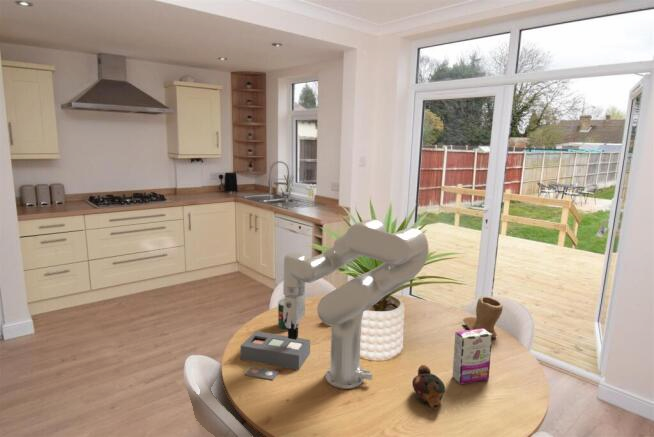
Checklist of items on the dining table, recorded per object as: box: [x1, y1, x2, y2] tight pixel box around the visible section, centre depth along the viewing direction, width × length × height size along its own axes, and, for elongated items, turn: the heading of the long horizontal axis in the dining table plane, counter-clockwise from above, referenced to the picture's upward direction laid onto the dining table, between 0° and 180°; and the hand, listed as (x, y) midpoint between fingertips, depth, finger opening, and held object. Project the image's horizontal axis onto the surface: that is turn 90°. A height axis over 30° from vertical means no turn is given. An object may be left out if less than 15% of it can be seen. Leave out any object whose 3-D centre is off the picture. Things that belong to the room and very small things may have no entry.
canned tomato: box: [277, 298, 288, 332], centre depth 170 cm, size 8×8×11 cm
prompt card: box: [244, 366, 280, 381], centre depth 136 cm, size 10×5×1 cm, turn 74°
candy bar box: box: [452, 328, 493, 385], centre depth 134 cm, size 11×5×16 cm, turn 105°
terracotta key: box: [253, 340, 264, 344], centre depth 149 cm, size 4×4×2 cm
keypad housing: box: [240, 330, 311, 371], centre depth 147 cm, size 22×12×5 cm, turn 74°
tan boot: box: [463, 296, 503, 339], centre depth 169 cm, size 15×12×15 cm
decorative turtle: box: [411, 364, 446, 410], centre depth 124 cm, size 10×15×8 cm, turn 8°
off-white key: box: [286, 342, 302, 350], centre depth 145 cm, size 4×4×2 cm
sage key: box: [268, 339, 284, 347], centre depth 147 cm, size 4×4×2 cm
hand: (292, 337), depth 144 cm, fingers closed
